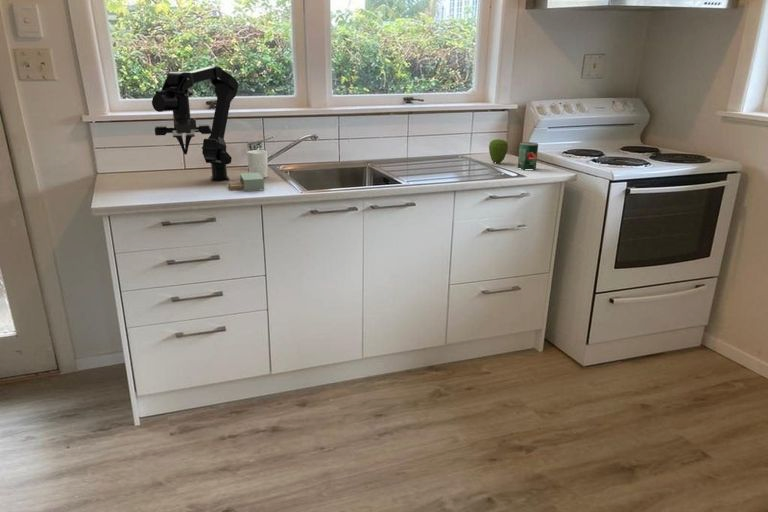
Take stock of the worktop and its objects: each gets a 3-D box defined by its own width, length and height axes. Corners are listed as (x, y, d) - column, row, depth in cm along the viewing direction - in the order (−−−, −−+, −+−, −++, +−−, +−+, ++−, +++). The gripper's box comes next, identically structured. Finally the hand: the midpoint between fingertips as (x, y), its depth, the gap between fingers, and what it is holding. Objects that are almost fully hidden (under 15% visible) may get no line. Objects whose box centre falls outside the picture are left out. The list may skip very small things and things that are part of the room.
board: (228, 187, 217) (228, 182, 216) (256, 185, 220) (255, 180, 219) (230, 191, 210) (230, 186, 210) (259, 189, 214) (258, 184, 213)
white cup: (247, 175, 235) (245, 150, 232) (266, 174, 238) (265, 149, 235) (250, 179, 228) (248, 153, 225) (270, 178, 231) (269, 152, 228)
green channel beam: (240, 184, 220) (239, 173, 218) (259, 183, 222) (258, 172, 221) (244, 191, 209) (243, 179, 208) (264, 189, 211) (263, 178, 210)
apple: (506, 165, 263) (508, 139, 259) (487, 164, 265) (489, 138, 261) (507, 162, 271) (509, 137, 267) (488, 161, 273) (490, 136, 269)
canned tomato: (532, 171, 251) (535, 145, 248) (515, 169, 255) (517, 143, 251) (538, 168, 258) (540, 143, 254) (520, 166, 262) (522, 141, 258)
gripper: (152, 112, 195) (157, 159, 200) (210, 111, 201) (214, 156, 206) (152, 109, 205) (157, 154, 210) (208, 108, 211) (211, 151, 216)
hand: (185, 154), depth 210 cm, fingers closed
